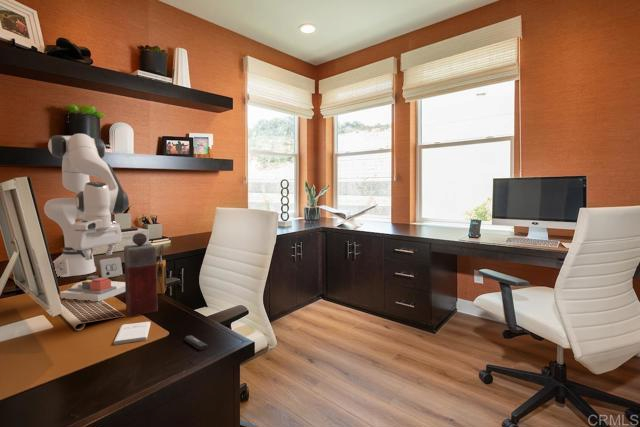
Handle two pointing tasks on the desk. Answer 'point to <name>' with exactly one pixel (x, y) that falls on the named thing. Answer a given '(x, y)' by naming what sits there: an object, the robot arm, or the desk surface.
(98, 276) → the plain toggle
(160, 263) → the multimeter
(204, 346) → the usb stick
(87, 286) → the tagged toggle
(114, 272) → the electrical switch
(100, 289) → the lockout cap
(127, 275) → the decanter
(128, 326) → the external hard drive
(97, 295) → the panel
